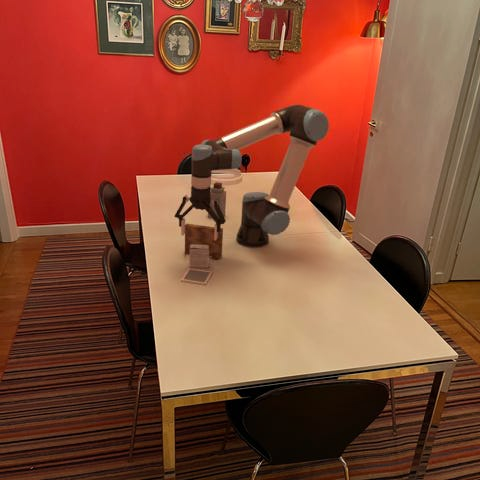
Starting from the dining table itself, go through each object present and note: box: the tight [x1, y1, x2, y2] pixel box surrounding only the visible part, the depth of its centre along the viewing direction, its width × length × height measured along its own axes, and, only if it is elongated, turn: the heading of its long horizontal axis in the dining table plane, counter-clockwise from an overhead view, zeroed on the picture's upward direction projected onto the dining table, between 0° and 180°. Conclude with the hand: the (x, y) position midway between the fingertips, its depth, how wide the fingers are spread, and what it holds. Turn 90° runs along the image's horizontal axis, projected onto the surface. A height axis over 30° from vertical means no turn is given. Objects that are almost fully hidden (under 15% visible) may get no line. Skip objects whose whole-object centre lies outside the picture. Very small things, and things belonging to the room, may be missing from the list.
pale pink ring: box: [211, 168, 243, 187], centre depth 301 cm, size 27×27×6 cm
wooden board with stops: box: [184, 222, 224, 260], centre depth 200 cm, size 16×5×13 cm, turn 79°
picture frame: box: [180, 267, 213, 286], centre depth 184 cm, size 10×10×1 cm
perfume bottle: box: [207, 182, 227, 220], centre depth 239 cm, size 7×7×18 cm
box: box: [189, 244, 210, 269], centre depth 192 cm, size 8×4×9 cm, turn 92°
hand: (199, 236), depth 188 cm, fingers open, 13 cm apart
